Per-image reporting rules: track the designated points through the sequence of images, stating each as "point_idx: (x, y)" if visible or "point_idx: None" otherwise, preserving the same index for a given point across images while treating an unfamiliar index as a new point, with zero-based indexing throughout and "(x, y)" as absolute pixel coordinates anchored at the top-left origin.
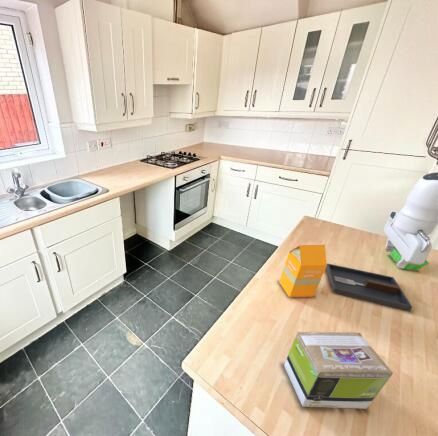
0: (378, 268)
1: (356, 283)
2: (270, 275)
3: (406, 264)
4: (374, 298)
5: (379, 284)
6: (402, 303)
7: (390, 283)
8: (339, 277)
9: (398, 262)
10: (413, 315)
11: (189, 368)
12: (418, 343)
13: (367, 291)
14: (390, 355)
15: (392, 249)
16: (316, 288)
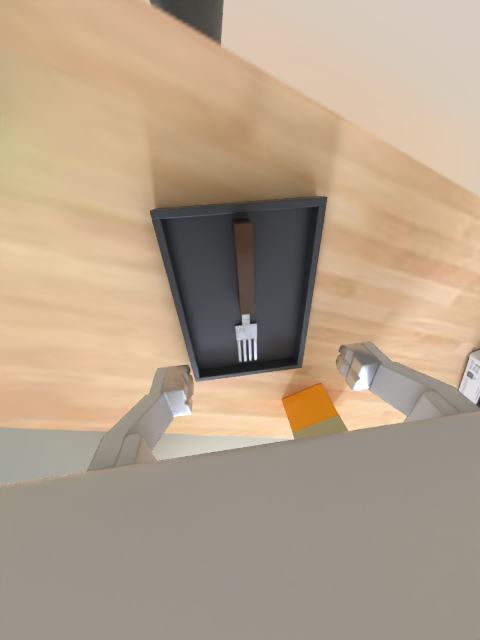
0: (81, 235)
1: (246, 321)
2: (282, 431)
3: (397, 364)
4: (311, 296)
5: (254, 284)
6: (316, 225)
7: (183, 220)
8: (238, 353)
9: (370, 387)
10: (334, 189)
11: None
12: (435, 216)
13: (268, 298)
14: (457, 284)
15: (185, 383)
16: (331, 403)
